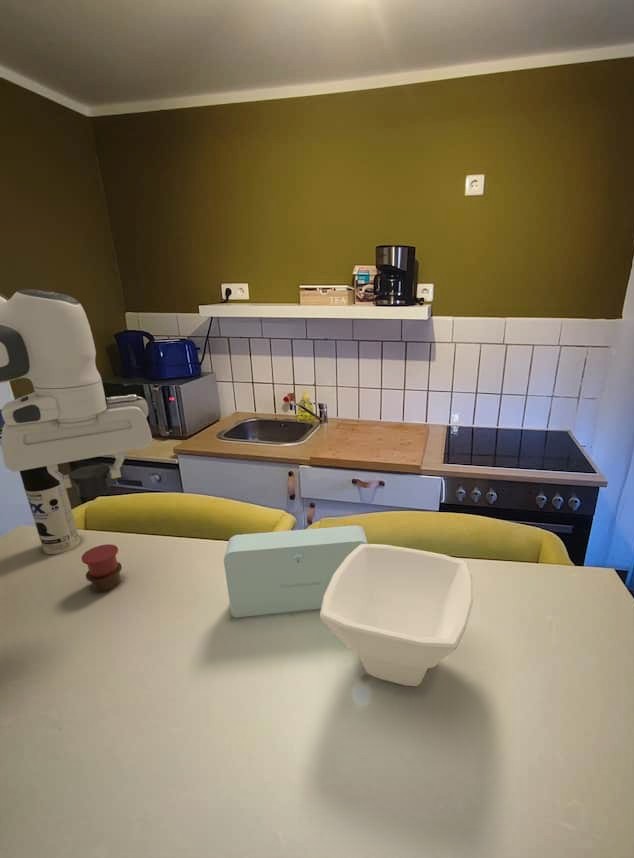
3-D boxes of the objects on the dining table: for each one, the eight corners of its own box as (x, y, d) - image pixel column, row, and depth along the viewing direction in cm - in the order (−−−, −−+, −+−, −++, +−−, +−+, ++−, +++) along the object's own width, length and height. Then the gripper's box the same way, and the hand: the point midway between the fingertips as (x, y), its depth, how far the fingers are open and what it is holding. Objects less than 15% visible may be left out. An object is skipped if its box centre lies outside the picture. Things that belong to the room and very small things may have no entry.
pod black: (75, 502, 68) (70, 481, 67) (72, 489, 72) (67, 469, 71) (116, 492, 71) (111, 473, 70) (111, 480, 76) (107, 462, 74)
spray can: (36, 553, 91) (8, 466, 84) (65, 536, 97) (42, 454, 90) (59, 558, 89) (33, 470, 82) (88, 541, 95) (65, 457, 88)
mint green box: (231, 623, 71) (221, 555, 66) (236, 600, 76) (227, 535, 72) (369, 609, 74) (369, 543, 69) (364, 587, 79) (364, 524, 75)
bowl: (355, 607, 74) (354, 538, 69) (469, 632, 69) (477, 558, 64) (311, 700, 58) (306, 617, 53) (458, 742, 52) (467, 655, 47)
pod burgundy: (87, 583, 76) (82, 566, 74) (84, 567, 80) (79, 551, 79) (124, 571, 79) (120, 554, 77) (119, 556, 83) (115, 540, 82)
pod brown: (92, 601, 77) (87, 584, 75) (88, 584, 81) (84, 568, 80) (127, 588, 80) (123, 572, 79) (122, 573, 84) (118, 557, 83)
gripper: (141, 389, 75) (154, 462, 79) (-9, 406, 63) (16, 490, 68) (149, 396, 70) (162, 473, 75) (-12, 416, 59) (15, 505, 63)
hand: (91, 482), depth 71 cm, fingers closed on pod black, 6 cm apart
